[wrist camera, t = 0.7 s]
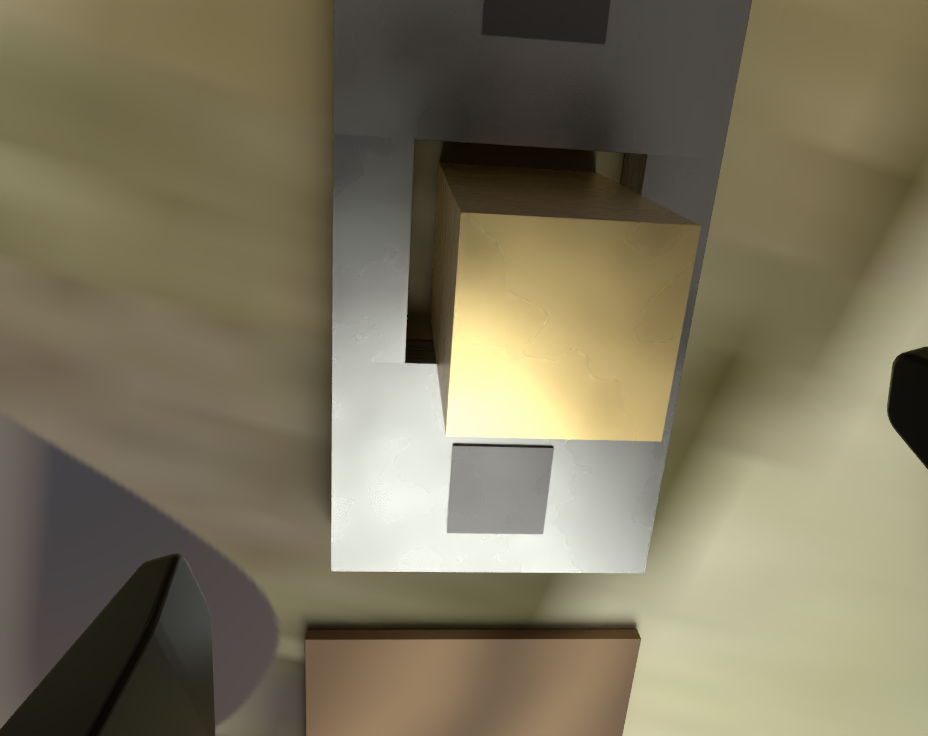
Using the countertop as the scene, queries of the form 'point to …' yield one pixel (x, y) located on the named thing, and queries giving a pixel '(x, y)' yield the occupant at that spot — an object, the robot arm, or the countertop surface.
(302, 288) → the countertop surface
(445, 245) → the wood grain block
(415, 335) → the countertop surface
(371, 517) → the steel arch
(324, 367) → the countertop surface
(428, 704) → the copper pad
